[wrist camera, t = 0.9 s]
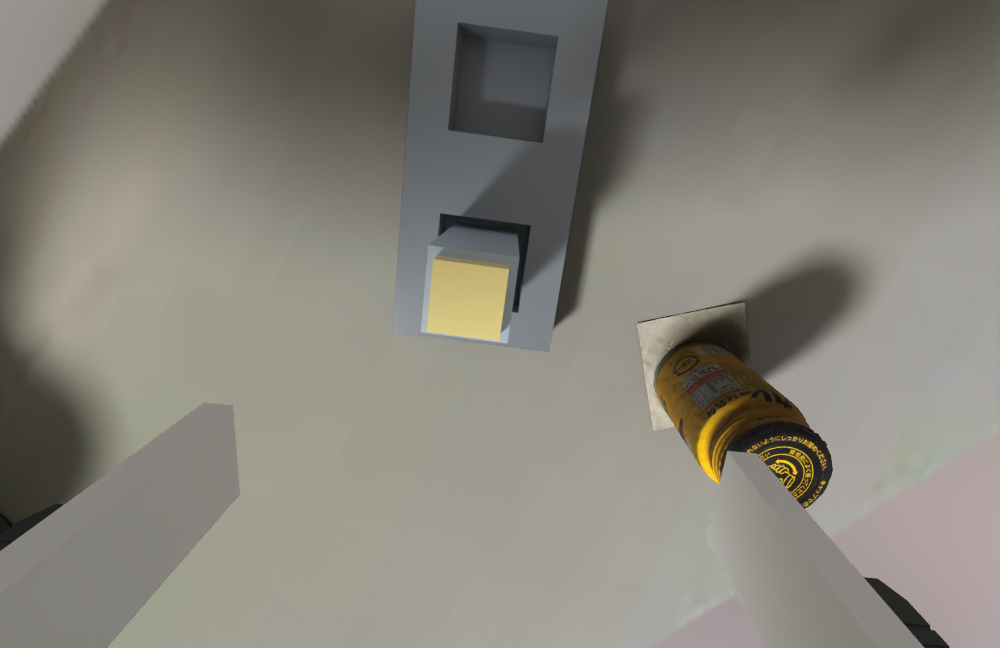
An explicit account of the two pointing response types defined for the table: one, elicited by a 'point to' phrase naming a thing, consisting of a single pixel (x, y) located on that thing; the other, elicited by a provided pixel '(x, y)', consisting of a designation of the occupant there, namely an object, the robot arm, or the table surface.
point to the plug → (471, 282)
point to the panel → (497, 142)
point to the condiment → (727, 400)
